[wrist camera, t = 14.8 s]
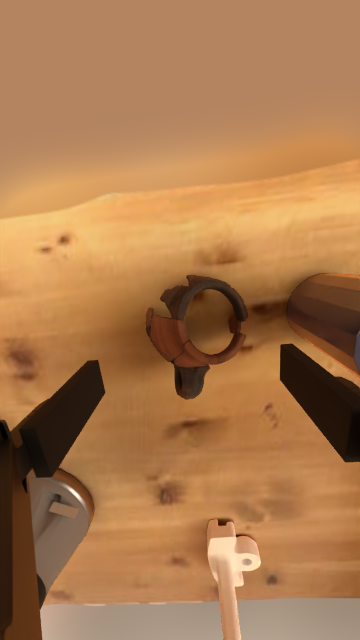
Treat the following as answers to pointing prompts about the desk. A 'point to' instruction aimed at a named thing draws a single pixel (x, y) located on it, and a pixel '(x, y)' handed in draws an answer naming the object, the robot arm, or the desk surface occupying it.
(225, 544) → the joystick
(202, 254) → the desk surface
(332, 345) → the cup
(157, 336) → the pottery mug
